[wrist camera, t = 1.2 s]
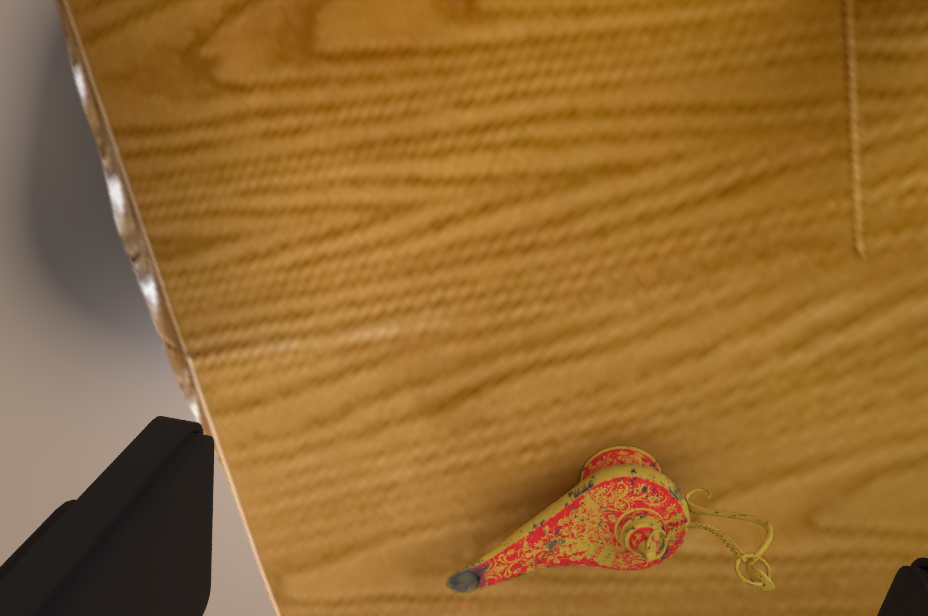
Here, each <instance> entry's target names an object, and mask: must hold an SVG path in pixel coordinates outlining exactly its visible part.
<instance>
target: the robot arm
mask: <svg viewBox="0 0 928 616" xmlns="http://www.w3.org/2000/svg"><path fill="white" fill-rule="evenodd" d="M213 475H214V440H213V437H211V436H208V435H203V429H202V426H201V425H200V424H199V423H196V422H191V421H186V420H180V419H175V418H169V417H164V416H158V417H156V418H155V419H153V420H152V421H151V422H150V423H149V424H148V425H147V426H146V427H145V429H144V430H143V431H142V432H141V433H140V434H139V435H138V436H137V437H136V438H135V439H134V440H133V441H132V442H131V443H130V444H129V445H128V446H127V447H126V449H125V450H124V451H123V452H122V453H121V454H120V455H119V456H118V457H117V458H116V459H115V460H114V461H113V462H112V463H111V464H110V465H109V466H108V467H107V468H106V470H105V471H104V472H103V473H102V474H101V475H100V476H99V477H98V478H97V479H96V480H95V481H94V482H93V483H92V484H91V485H90V486H89V487H88V488H87V490H86V491H85V492H84V493H83V494H82V495H81V496H80V497H79V498H78V499H77V500H70V501H67V502H65V503H64V504H62V505H61V506H60V507H59V508H57V509H56V510H55V511H54V512H53V513H52V514H51V515H50V516H49V517H48V518H47V519H46V520H45V522H43V524H42V525H41V526H40V527H39V528H38V529H37V530H36V531H35V532H34V533H33V534H32V535H31V536H30V537H29V538H28V539H27V540H26V541H25V542H24V543H23V544H22V545H21V546H20V547H19V548H18V549H17V550H16V551H15V552H14V553H13V554H12V555H11V556H10V557H9V558H8V559H7V560H6V562H5V563H4V564H3V565H2V566H1V567H0V616H202V615H203V613H204V611H205V609H206V606H207V603H208V600H209V595H210V589H211V559H212V558H211V556H212V518H213V517H212V516H213ZM877 616H928V558H918V559H917V560H915V561H914V562H913V563H912V564H911V566H903V567H901V568H900V569H899V570H898V572H897V574H896V576H895V578H894V580H893V582H892V584H891V587H890V589H889V591H888V593H887V595H886V598H885V600H884V602H883V604H882V606H881V609H880V611H879V613H878V615H877Z"/></svg>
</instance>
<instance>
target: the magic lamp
mask: <svg viewBox="0 0 928 616" xmlns="http://www.w3.org/2000/svg"><path fill="white" fill-rule="evenodd" d="M697 491H707V492H709V497H708V498H710V497H711V491H710V490H708V489H706V488H697V489H694V490H691V491H690V492H688V493H687V494H686V495H685V497H684V495H683V493H682V492H681V491H680V489H679V488H678V486H677V485H676V484H675V483H673V482H672V481H671V480H670V479H669V478H668V477H666V476H665V475H663V472H662V470H661V467H660V465H659V464H658V462H657V461H656V460H655V459H654V458H653V457H652V456H651V455H650V454H648V453H647V452H645V451H643V450H641V449H638V448H635V447H630V446H614V447H609V448H606V449H603V450H601V451H599V452H597V453H596V454H595V455H593V456H592V457H591V458H590V459H589V460H588V461H587V462H586V464H585V466H584V468H583V469H582V473H581V478H580V483H579V484H577V485H576V486H575V487H574V488H573V489H571V490H570V491H569V492H568V493H566V494H565V495H564V496H562V497H561V498H560V499H558V500H557V501H556V502H554V503H553V504H551V505H550V506H548V507H547V508H546V509H544V510H543V511H542V512H540V513H539V514H537V515H536V516H535V517H533V518H532V519H530V520H529V521H528V522H526V523H525V524H524V525H523V526H521V527H520V528H519V529H517V530H516V531H515V532H514V533H512V534H511V535H510V536H509V537H507V538H506V539H505V540H504V541H502V542H501V543H500V544H499V545H497V546H496V547H495V548H493V549H492V550H491V551H489V552H488V553H487V554H485V555H484V556H483V557H481V558H480V559H478V560H477V561H475V562H474V563H472V564H471V565H469V566H467V567H465V568H463V569H462V570H460V571H457V572H455V573H453V574H451V575H450V576H449V577H448V578H447V581H446V586H447V587H448V588H449V589H450V590H452V591H453V592H456V593H463V594H464V593H472V592H475V591H478V590H481V589H484V588H487V587H489V586H492V585H495V584H498V583H501V582H504V581H506V580H509V579H512V578H514V577H517V576H519V575H522V574H525V573H528V572H531V571H534V570H537V569H542V568H547V567H554V566H567V565H578V566H591V567H598V568H605V569H611V570H618V571H634V570H642V569H646V568H650V567H653V566H655V565H658V564H660V563H662V562H664V561H665V560H667V559H668V558H670V557H671V556H672V555H673V554H674V553H675V552H676V551H677V550H678V549H679V548H680V547H681V545H682V544H683V542H684V541H685V538H686V536H687V533H688V530H689V528H690V527H693V528H696V526H697V527H698V528H699V527H701V528H702V529H703V528H704V527H705V530H707V529H709V532H710V531H713V532H712V534H715V533H716V536H720V538H719V539H720V540H724V541H723V543H727V545H726V546H727V547H730V548H731V549H730V551H732V552H735V553H734V556H737V557H739V558H738V559H737V560H736V561H735V571H736V574H737V575H738V577H739V578H740V579H741V580H742V581H744V582H745V583H747V584H750V585H753V586H756V587H758V588H759V589H760V590H763V591H770V590H772V589H774V588H775V586H774V584H773V583H772V581H771V580H770V578H771V569H770V566H769V565H768V564H767V562H766V561H765V560H764V559H762V558H761V557H760V556H761V555H762V554H763V552H764V551H765V550H766V549H767V547H768V546H769V544H770V543H771V540H772V538H773V528H772V527H771V525H770V524H769V523H768V522H766V521H765V520H763V519H761V518H758V517H755V516H750V515H745V514H740V513H734V512H728V511H722V510H716V509H710V508H705V507H701V506H697V505H694V504H692V503H690V502H689V501H688V500H689V497H690V495H692V494H693V493H695V492H697ZM689 511H690V512H692V513H694V514H702V515H710V516H720V517H727V518H734V519H740V520H745V521H750V522H754V523H757V524H760V525H762V526H763V527H765V529H766V531H767V534H766V537H765V539H764V541H763V542H762V544H761V545H760V546H759V547H758V549H757V550H756V551H755V552H754V553H753V554H744V553H743V552H741V549H740V548H739V547H737V545H736V544H735V543H733V541H732V540H731V539H729V537H728V536H726V535H725V534H724V533H722V532H721V531H720V530H718V529H717V528H715V527H713V526H709V525H708V524H704V523H700V522H698V523H697V522H694V523H693V522H690V513H689ZM746 558H749V560H748V561H747V563H746ZM741 560H742V561H743V563H746V565H745V566H746V572H747V575H748V577H749V579H750V580H751V581H752V582H751V581H748V580H747V579H745V578H744V577H743V576H742V575H741V574H740V572H739V568H738V567H739V563H740V562H741ZM757 560H759V561H761V562H762V563H763V564H764V565H765V566H766V569H767V575H766V574H765V573H764V572H763V571H762V570H761V569H760V568H758V567H756V566H754V564H755V562H756V561H757Z"/></svg>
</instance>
